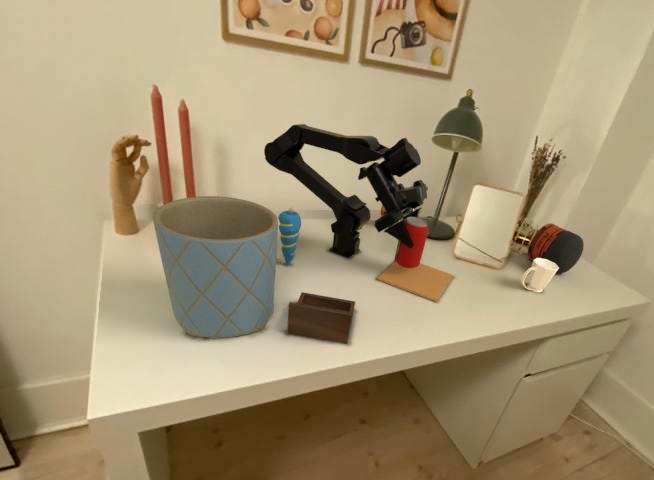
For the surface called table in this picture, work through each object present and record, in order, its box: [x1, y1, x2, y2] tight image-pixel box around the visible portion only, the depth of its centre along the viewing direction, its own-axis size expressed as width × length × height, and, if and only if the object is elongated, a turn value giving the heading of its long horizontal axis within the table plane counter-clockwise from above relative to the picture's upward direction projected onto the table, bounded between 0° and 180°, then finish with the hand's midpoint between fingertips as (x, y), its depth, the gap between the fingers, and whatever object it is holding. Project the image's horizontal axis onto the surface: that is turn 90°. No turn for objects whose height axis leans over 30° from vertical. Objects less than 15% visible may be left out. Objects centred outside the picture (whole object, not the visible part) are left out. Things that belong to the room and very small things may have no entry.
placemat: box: [377, 260, 454, 303], centre depth 100 cm, size 16×16×1 cm
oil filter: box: [527, 222, 585, 275], centre depth 118 cm, size 13×12×13 cm
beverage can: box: [394, 217, 429, 268], centre depth 96 cm, size 7×7×12 cm
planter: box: [152, 195, 279, 339], centre depth 68 cm, size 19×19×20 cm
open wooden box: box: [287, 291, 356, 345], centre depth 75 cm, size 12×12×7 cm
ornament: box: [277, 206, 302, 266], centre depth 89 cm, size 5×5×15 cm
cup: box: [520, 258, 559, 293], centre depth 104 cm, size 7×10×8 cm
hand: (416, 242), depth 95 cm, fingers closed on beverage can, 7 cm apart
